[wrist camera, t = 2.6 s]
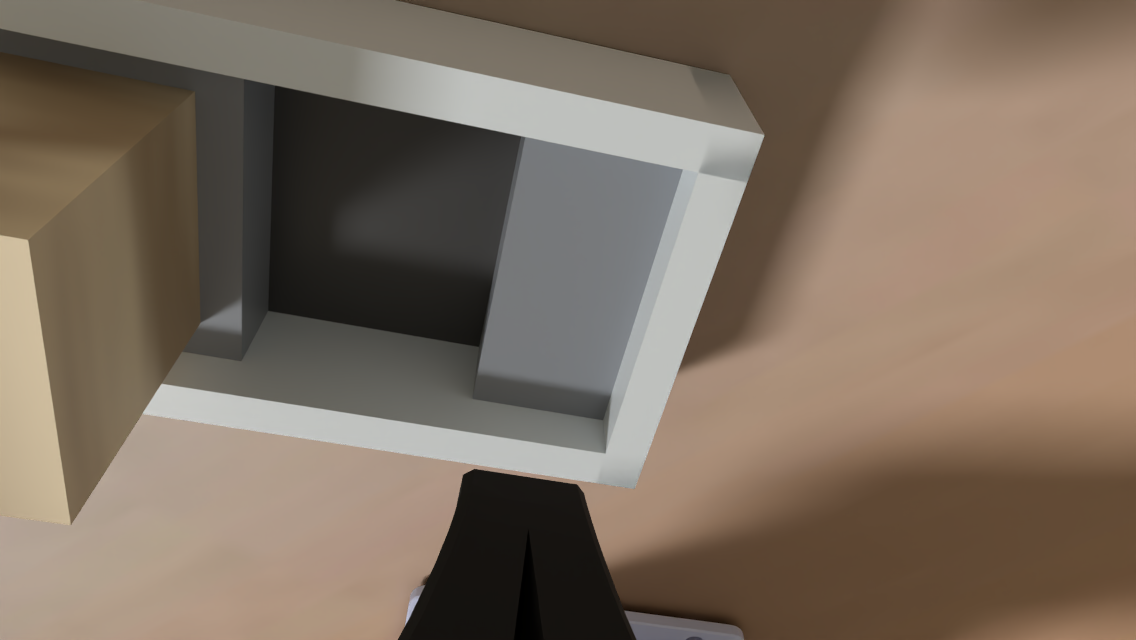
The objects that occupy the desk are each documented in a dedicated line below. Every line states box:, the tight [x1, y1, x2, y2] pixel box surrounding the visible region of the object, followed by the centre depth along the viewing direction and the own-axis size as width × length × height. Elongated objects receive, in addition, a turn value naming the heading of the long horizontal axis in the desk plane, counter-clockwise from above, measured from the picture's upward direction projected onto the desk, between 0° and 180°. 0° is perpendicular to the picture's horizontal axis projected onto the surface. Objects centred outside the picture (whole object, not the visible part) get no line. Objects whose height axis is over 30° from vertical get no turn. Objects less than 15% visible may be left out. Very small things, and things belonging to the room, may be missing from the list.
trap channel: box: [0, 0, 765, 489], centre depth 14 cm, size 23×11×3 cm, turn 77°
